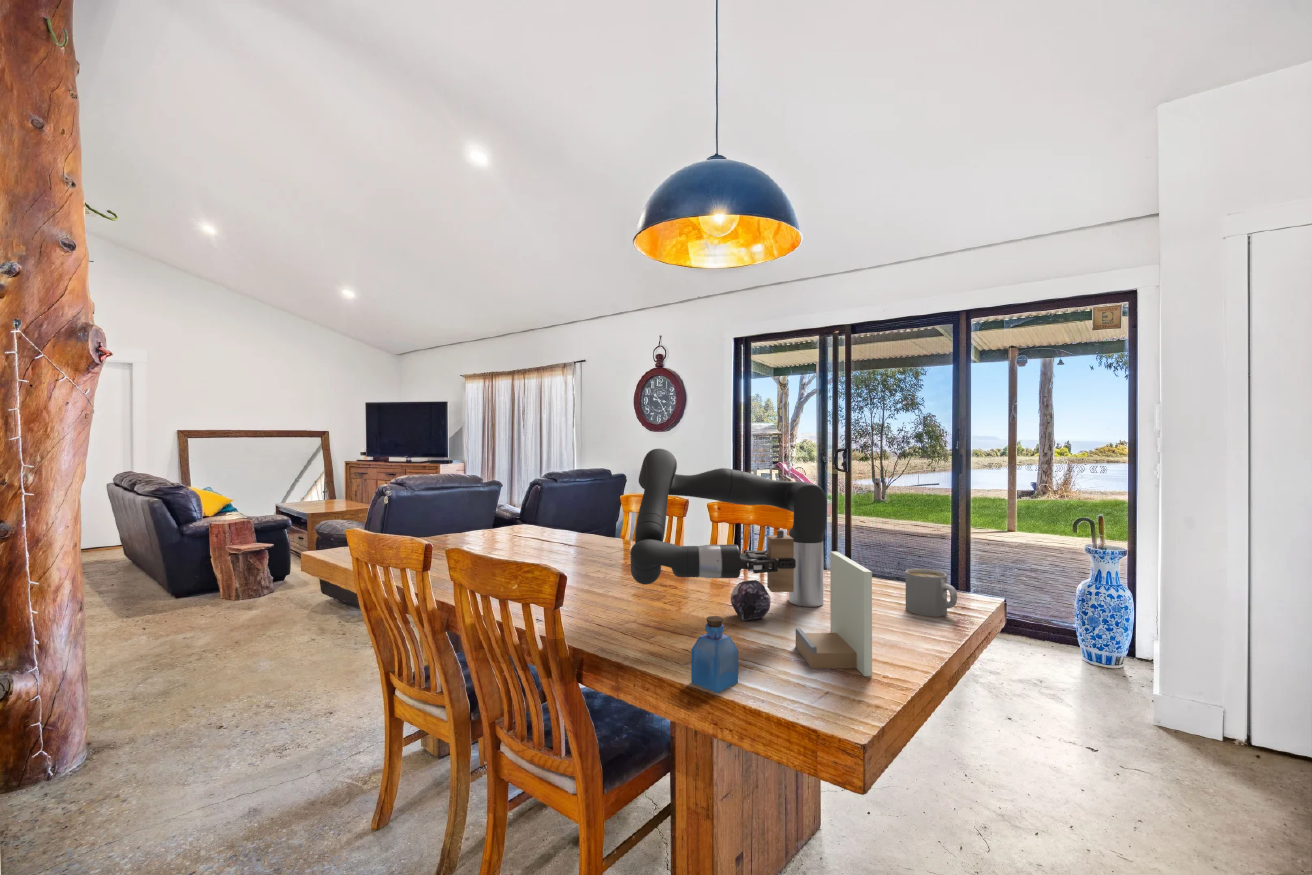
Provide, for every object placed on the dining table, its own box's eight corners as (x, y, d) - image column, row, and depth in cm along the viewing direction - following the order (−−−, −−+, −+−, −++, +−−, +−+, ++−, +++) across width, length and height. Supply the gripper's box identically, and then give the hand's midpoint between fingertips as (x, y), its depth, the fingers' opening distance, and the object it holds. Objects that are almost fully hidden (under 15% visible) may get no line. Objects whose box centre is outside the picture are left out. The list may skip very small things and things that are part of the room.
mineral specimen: (731, 602, 156) (746, 569, 154) (766, 623, 151) (782, 589, 150) (718, 610, 147) (733, 575, 146) (755, 633, 143) (771, 597, 141)
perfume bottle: (712, 673, 113) (712, 611, 114) (738, 682, 109) (738, 618, 109) (691, 682, 109) (691, 618, 109) (717, 692, 105) (716, 626, 105)
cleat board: (790, 640, 132) (790, 551, 132) (837, 639, 132) (836, 551, 132) (817, 676, 112) (817, 572, 112) (872, 676, 112) (871, 571, 112)
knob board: (767, 587, 136) (767, 529, 136) (788, 586, 136) (788, 528, 136) (771, 592, 131) (771, 532, 131) (793, 591, 131) (793, 532, 131)
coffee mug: (897, 607, 158) (897, 570, 158) (927, 603, 161) (927, 567, 161) (934, 622, 145) (934, 581, 145) (966, 618, 148) (966, 578, 148)
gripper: (722, 551, 126) (800, 550, 126) (713, 539, 140) (784, 539, 141) (722, 585, 126) (801, 585, 126) (714, 570, 140) (784, 570, 141)
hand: (791, 560), depth 134 cm, fingers closed on knob board, 4 cm apart
